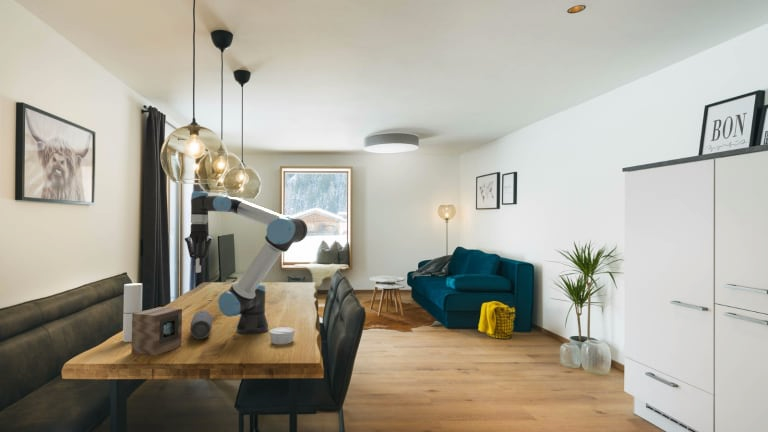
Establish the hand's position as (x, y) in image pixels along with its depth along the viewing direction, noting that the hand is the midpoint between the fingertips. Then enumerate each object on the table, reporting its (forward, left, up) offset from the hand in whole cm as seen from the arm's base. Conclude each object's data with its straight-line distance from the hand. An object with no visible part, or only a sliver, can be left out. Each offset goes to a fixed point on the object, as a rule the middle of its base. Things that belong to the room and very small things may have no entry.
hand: (198, 272), depth 200 cm
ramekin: (-43, +15, -30) cm, 54 cm away
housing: (+7, +25, -29) cm, 39 cm away
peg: (+7, +25, -23) cm, 35 cm away
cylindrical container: (+25, +10, -30) cm, 40 cm away
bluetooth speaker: (-3, +3, -30) cm, 30 cm away
